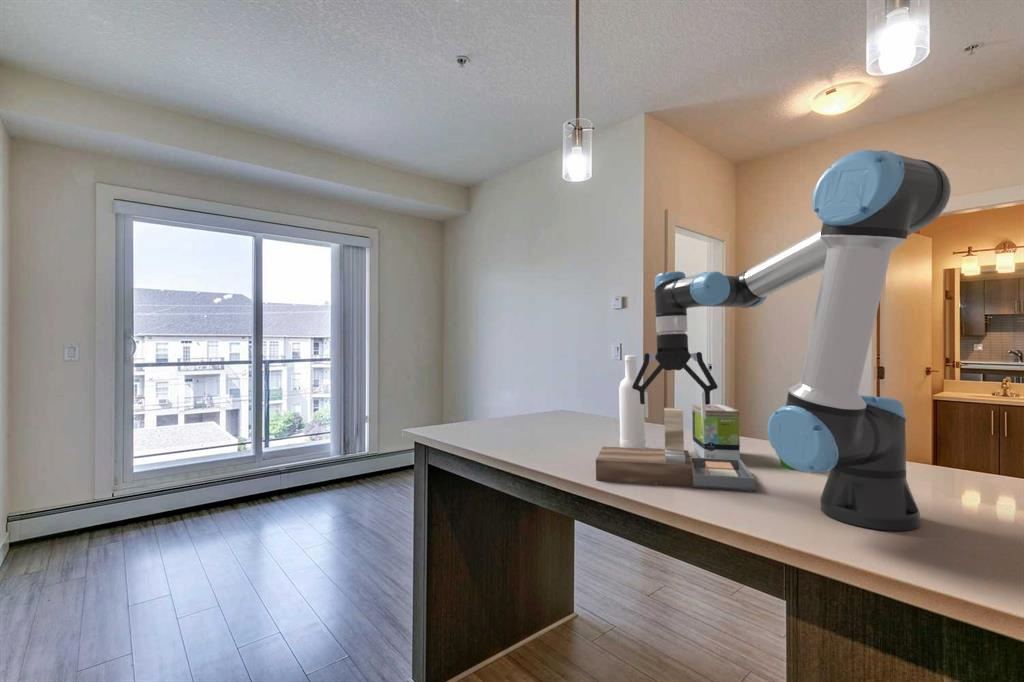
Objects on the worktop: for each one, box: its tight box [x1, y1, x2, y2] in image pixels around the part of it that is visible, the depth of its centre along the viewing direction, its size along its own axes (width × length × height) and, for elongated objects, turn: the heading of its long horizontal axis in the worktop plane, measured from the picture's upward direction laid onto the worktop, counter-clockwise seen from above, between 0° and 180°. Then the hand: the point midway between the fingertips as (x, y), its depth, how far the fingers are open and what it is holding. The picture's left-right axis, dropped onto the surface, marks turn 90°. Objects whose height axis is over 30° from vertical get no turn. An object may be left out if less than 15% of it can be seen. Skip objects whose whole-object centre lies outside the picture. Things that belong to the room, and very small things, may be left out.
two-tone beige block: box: [663, 407, 685, 465], centre depth 119 cm, size 16×4×12 cm, turn 163°
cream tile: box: [708, 469, 739, 477], centre depth 112 cm, size 6×6×2 cm
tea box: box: [691, 404, 741, 460], centre depth 139 cm, size 15×10×15 cm, turn 171°
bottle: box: [618, 354, 646, 448], centre depth 151 cm, size 8×8×30 cm
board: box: [595, 446, 693, 487], centre depth 121 cm, size 16×22×5 cm
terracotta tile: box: [705, 461, 734, 475], centre depth 119 cm, size 6×6×2 cm
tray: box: [690, 456, 756, 493], centre depth 116 cm, size 18×13×3 cm
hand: (674, 417), depth 119 cm, fingers open, 13 cm apart
